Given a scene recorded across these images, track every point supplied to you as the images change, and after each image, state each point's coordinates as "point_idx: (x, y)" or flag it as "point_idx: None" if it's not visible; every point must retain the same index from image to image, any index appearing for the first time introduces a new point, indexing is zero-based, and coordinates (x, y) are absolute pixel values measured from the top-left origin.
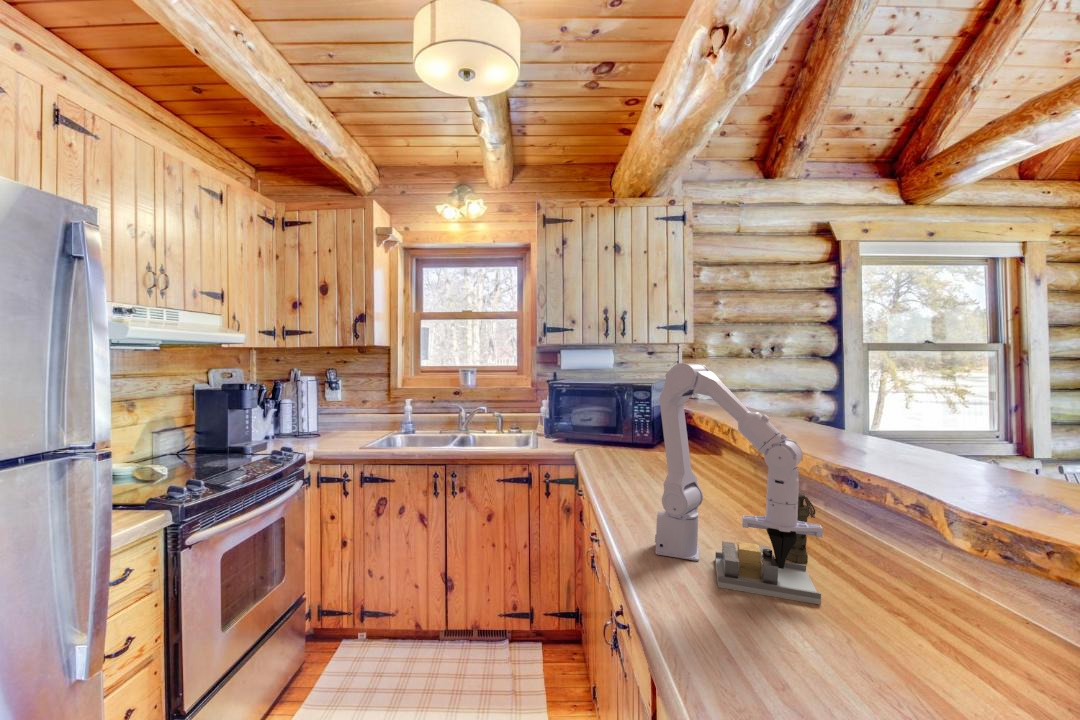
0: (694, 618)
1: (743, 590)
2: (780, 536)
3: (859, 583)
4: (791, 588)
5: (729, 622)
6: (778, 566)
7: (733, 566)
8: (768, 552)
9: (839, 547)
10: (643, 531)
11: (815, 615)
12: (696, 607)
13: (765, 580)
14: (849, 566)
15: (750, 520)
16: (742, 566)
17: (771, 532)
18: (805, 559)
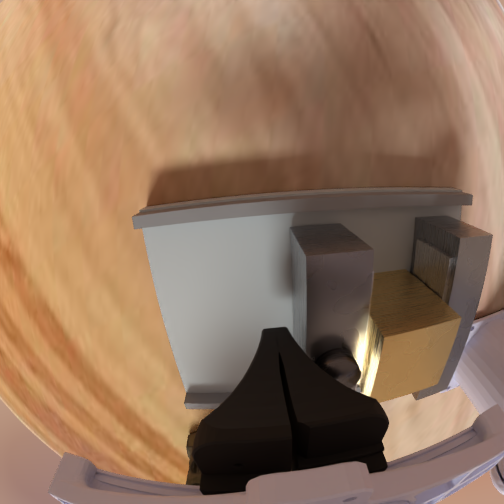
0: (466, 19)
1: (394, 187)
2: (311, 440)
3: (80, 376)
4: (238, 208)
5: (410, 4)
6: (284, 329)
7: (460, 230)
8: (340, 362)
9: (143, 477)
10: None
11: (169, 117)
12: (476, 61)
13: (338, 228)
14: (112, 433)
15: (496, 449)
16: (412, 286)
17: (362, 453)
18: (192, 439)
